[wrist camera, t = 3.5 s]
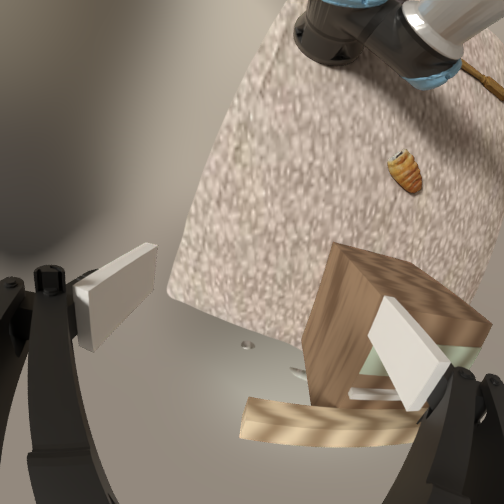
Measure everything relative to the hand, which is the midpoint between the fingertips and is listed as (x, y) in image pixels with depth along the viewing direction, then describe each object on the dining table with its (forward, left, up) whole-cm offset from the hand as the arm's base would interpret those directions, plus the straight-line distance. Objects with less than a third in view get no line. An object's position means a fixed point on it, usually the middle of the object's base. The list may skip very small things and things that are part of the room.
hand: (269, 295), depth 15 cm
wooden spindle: (+25, +64, -41) cm, 80 cm away
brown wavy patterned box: (+28, -6, -41) cm, 50 cm away
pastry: (+19, +24, -41) cm, 51 cm away
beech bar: (+24, -13, -11) cm, 30 cm away
